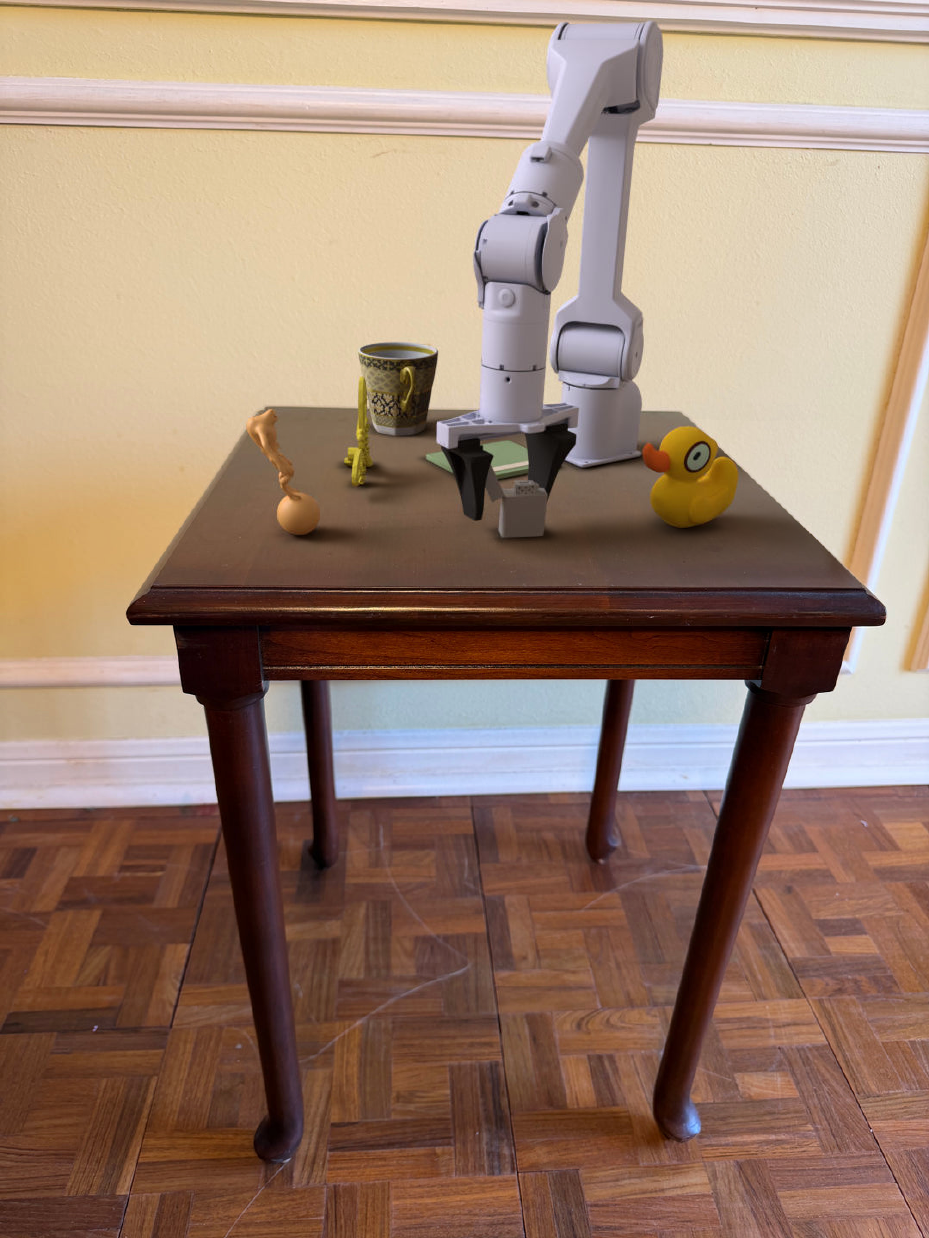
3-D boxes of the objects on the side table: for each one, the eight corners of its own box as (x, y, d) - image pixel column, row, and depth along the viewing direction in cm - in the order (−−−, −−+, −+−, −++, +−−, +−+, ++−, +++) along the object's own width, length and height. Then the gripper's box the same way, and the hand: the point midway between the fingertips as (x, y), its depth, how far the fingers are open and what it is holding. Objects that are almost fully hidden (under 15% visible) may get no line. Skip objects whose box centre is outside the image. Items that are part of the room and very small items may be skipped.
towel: (507, 444, 110) (508, 439, 110) (558, 467, 103) (558, 461, 102) (425, 459, 104) (425, 453, 104) (472, 484, 97) (473, 478, 96)
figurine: (327, 549, 80) (320, 420, 75) (260, 554, 79) (247, 423, 73) (315, 515, 87) (308, 395, 82) (253, 520, 86) (242, 398, 80)
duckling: (650, 543, 84) (664, 441, 79) (618, 523, 88) (630, 425, 83) (743, 526, 88) (762, 429, 83) (709, 508, 92) (725, 414, 88)
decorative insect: (370, 524, 99) (362, 481, 90) (341, 524, 99) (330, 480, 90) (377, 425, 103) (369, 374, 94) (349, 424, 103) (339, 373, 94)
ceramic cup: (353, 420, 118) (351, 343, 113) (425, 416, 120) (426, 340, 116) (374, 449, 107) (372, 365, 102) (453, 444, 109) (455, 362, 105)
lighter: (539, 527, 86) (547, 451, 82) (543, 535, 85) (552, 458, 80) (468, 530, 85) (472, 453, 80) (471, 539, 83) (476, 460, 79)
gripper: (470, 383, 71) (464, 539, 77) (606, 366, 78) (591, 509, 84) (424, 365, 76) (423, 513, 82) (556, 350, 83) (545, 487, 89)
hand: (505, 509), depth 84 cm, fingers closed on lighter, 7 cm apart
